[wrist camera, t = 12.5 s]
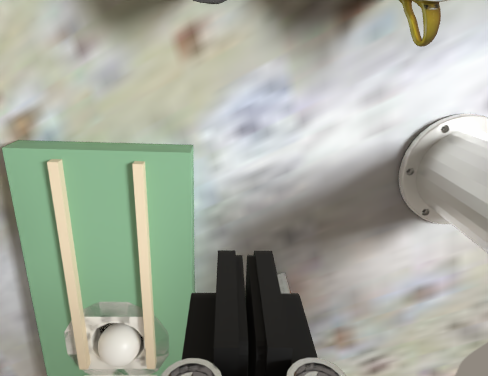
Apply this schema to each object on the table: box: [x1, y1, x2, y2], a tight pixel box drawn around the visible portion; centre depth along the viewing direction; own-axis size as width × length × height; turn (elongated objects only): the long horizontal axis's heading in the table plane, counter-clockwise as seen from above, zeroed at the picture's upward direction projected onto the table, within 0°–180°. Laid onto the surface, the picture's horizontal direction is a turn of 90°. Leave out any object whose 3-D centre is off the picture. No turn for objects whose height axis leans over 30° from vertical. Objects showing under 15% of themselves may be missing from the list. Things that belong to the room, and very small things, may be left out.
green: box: [2, 140, 195, 376], centre depth 42 cm, size 18×32×6 cm, turn 178°
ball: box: [98, 323, 141, 367], centre depth 46 cm, size 5×5×5 cm
